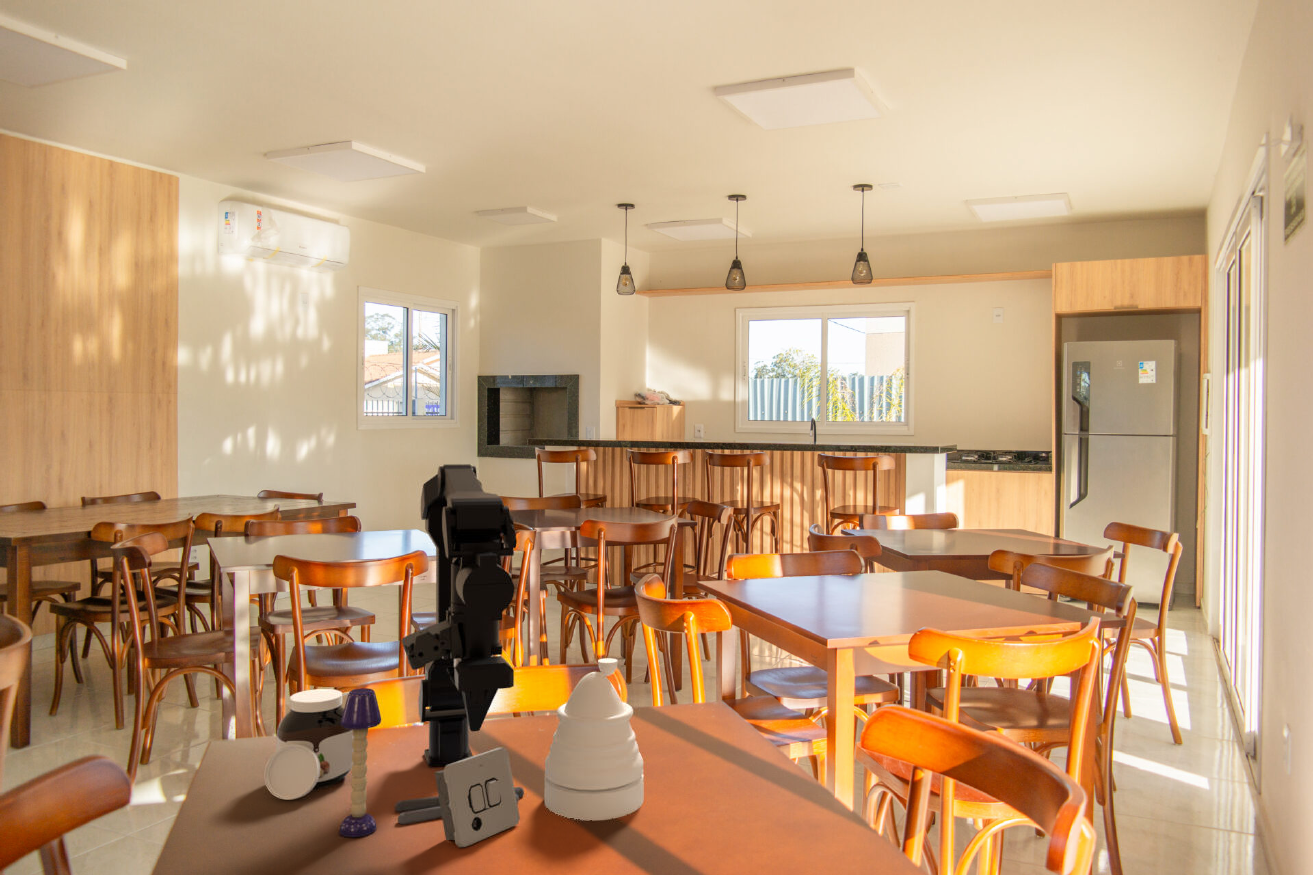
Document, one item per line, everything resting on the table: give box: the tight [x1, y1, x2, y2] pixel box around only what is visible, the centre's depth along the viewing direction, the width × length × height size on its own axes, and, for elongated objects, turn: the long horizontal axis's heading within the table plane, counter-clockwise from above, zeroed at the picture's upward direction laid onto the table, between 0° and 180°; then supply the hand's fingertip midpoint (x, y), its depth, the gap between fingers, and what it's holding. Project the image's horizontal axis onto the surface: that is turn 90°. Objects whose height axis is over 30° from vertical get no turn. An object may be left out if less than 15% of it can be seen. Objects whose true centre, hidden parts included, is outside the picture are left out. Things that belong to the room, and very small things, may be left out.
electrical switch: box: [434, 747, 521, 848], centre depth 113 cm, size 9×5×9 cm, turn 141°
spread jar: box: [263, 688, 354, 801], centre depth 127 cm, size 12×11×12 cm
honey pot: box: [544, 657, 644, 822], centre depth 122 cm, size 13×13×18 cm
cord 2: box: [397, 794, 520, 825], centre depth 118 cm, size 1×15×1 cm, turn 117°
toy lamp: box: [339, 687, 382, 838], centre depth 113 cm, size 5×5×17 cm
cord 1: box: [394, 786, 525, 813], centre depth 121 cm, size 1×16×1 cm, turn 109°
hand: (474, 730), depth 113 cm, fingers closed
